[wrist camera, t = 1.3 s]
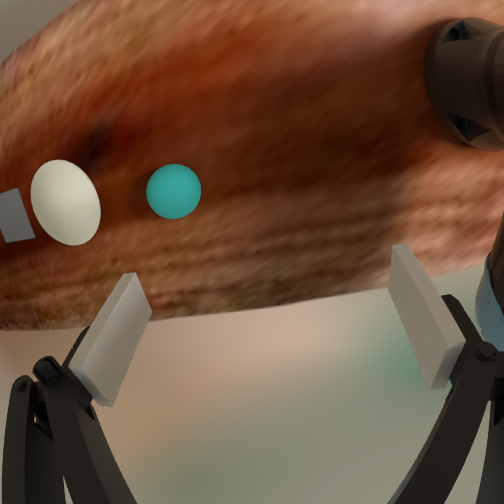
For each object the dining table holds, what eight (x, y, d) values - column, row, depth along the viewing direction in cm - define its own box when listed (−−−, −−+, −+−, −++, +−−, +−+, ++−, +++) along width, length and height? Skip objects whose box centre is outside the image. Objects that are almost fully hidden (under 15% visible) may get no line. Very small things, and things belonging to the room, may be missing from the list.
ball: (201, 154, 31) (187, 168, 26) (210, 203, 34) (198, 225, 29) (152, 162, 32) (131, 178, 27) (163, 208, 34) (146, 230, 30)
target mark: (85, 149, 31) (84, 150, 31) (112, 240, 37) (111, 241, 37) (22, 171, 33) (21, 171, 32) (48, 247, 39) (48, 248, 38)
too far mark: (18, 187, 34) (17, 187, 34) (35, 237, 38) (34, 237, 38) (-10, 197, 35) (-11, 197, 35) (7, 242, 39) (6, 242, 39)
